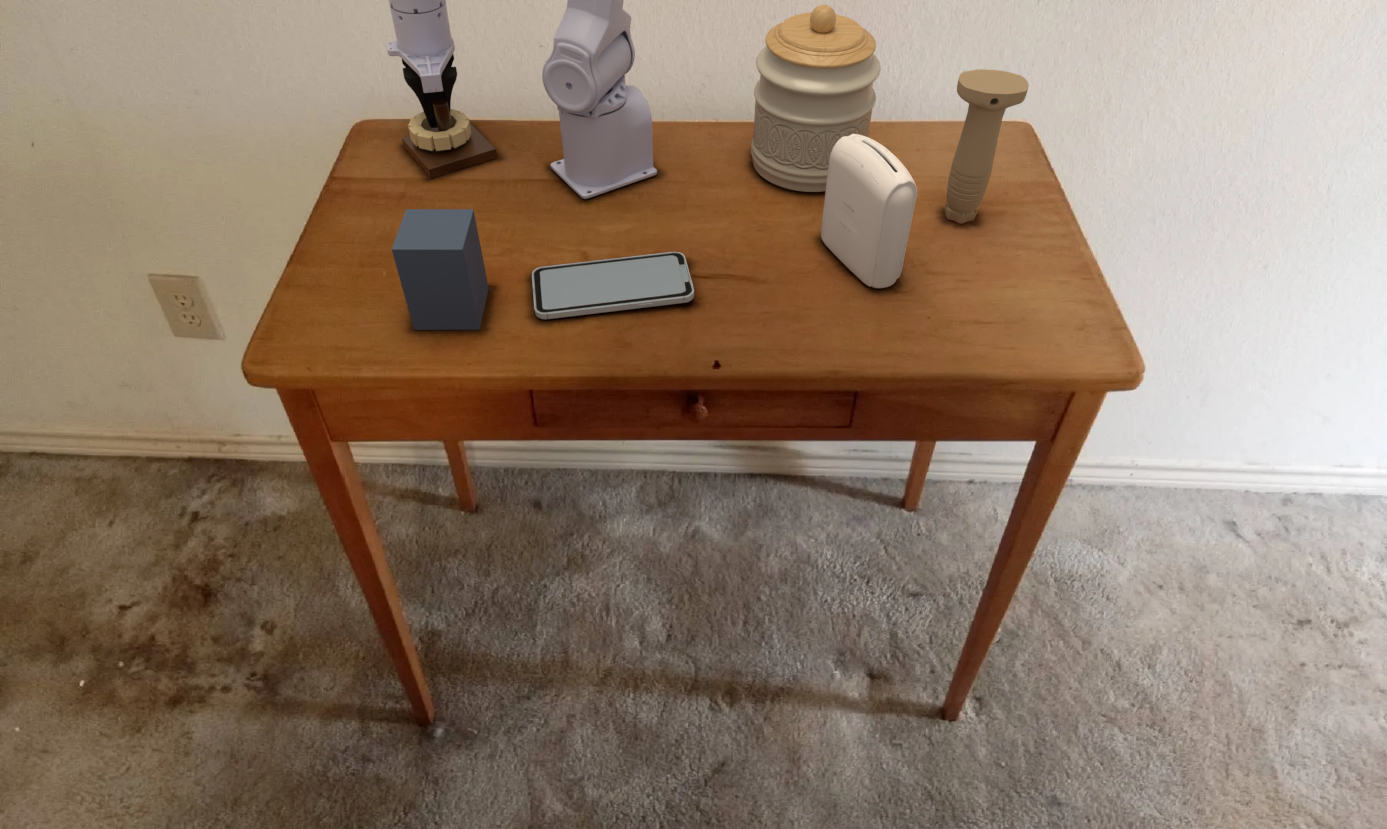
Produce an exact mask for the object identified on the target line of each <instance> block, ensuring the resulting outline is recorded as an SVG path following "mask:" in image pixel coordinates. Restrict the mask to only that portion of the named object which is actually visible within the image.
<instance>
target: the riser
mask: <svg viewBox="0 0 1387 829" xmlns="http://www.w3.org/2000/svg"><path fill="white" fill-rule="evenodd" d="M391 252H392V256H393V259H394V263H395V267H396V270H397V274H398V278H399V281H400V285H401V288H402V292H403V295H404V299H405V303H406V307H407V310H408V313H409V317H410V320H411V324H412V328H413V330H414V331H479V330H481V326H482V322H483V317H484V313H485V307H486V304H487V299H488V295H489V290H490V287H489V283H488V277H487V272H486V271H487V270H486V267H485V262H484V257H483V256H484V255H483V252H482V246H481V240H480V236H479V231H478V225H477V220H476V216H475V210H474V209H473V208H438V209H437V208H406V209H405V211H404V214H403V216H402V219H401V222H400V225H399V228H398V230H397V233H396V235H395V239H394V241H393V244H392V246H391Z"/></svg>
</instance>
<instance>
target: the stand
mask: <svg viewBox="0 0 1387 829" xmlns="http://www.w3.org/2000/svg"><path fill="white" fill-rule="evenodd" d="M433 108H434V113H435V117H436V122H437V127H438V128H433V129H431V130H429V131H432V132H441V131H447V130H449V129H451V128H452V123H451V117H450V112H449V107H448V102H447V100H445V99H437V100H434V101H433ZM470 128H471V135H470V137H469V140H466V143H464V144H462V145H460V146H458V147H456V148H454V147H452V146H451V149H450V150H441V151H436V149H434V150H433V151H430V150H426V149H421V148H419V146H416V145H415V144H414V143H413V142H412V141H411V138H410V135H407V136H403V137H402V138H401V141H402V145H403V148H404V149H405V150H406V151H407V153H408V154H409V155H410V156H411V157H412V159H413V160H414V161H415V162H416V163H417V164H418V166H420V168H421V170H423V172H425V174H426V175H427V176H428V177H429V178H430V179H435V178H438V177H441V176H444V175H447V174H451V173H454V172H458V171H460V170H464V169H467V168H469V167H474V166H476V165H480V164H483V163H486V162H489V161H492V160H495V159H497V158H498V156H497V149H496V148H495V147H494V146H493V144H491V142H490V141H488V139H486V137H485V136H484V135H483V134H482V133H481V132H480V131H479V130H478V129H477V128H476V127H475V126H474V125H473V124H472V123H471V122H470Z"/></svg>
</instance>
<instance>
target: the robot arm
mask: <svg viewBox="0 0 1387 829" xmlns="http://www.w3.org/2000/svg"><path fill="white" fill-rule="evenodd" d="M624 1H625V0H567V2H566V8H565V11H564V14H563V16H562V18H561V20H560V23H559V25H558V28H557V29H556V32H555V34H554V37H553V46H552V50H551V54H550V55H549V57H548V58H547V59H546V61H545V62H544V64H543V67H542V71H541V72H542V73H541V78H542V79H541V80H542V85H543V87H544V90H545V92H546V94H547V96H548V97H549V98H550V100H551V101H552V102H553V103H554V104H555V106H557V107H556V108H557V111H558V117H559V126H560V136H561V137H560V138H561V146H562V156H563V158H562V159H559V160H555V161H553V162H551V163H550V164H549V166H550V169H551V170H552V171H553V172H554V173H555V174H556V175H557V176H559V178H561V180H562V181H563V182H564V183H566V184H567V185H568V186H569V188H571V189H572V190H573V191H574V192H575V193H576V194H577V195H578V196H579V197H580V198H581V199H583V200H588V199H590V198H594V197H596V196H599V195H602V194H605V193H608V192H610V191H613V190H616V189H619V188H623V187H625V186H628V185H630V184H634V183H637V182H639V181H642V180H645V179H649V178H652V177H654V176H656V175H657V174H658V170H657V168H655V167H654V142H653V141H654V136H653V118H652V112H651V108H650V104H649V103H648V100H647V98H646V96H645V95H644V93H643V92H642V90H641V89H640V88H639V87H638V86H637V85H633V84H627V85H626V74H628V73H629V72H630V70H632V67H633V65H634V64H635V60H636V59H635V58H636V50H635V45H634V42H633V39H632V34H631V24H632V15H630V13H628V11H626V10H625V9H624V8H623V7H624ZM388 4H389V8H390V13H391V19H392V24H393V28H394V29H393V30H394V34H395V38H396V41H389V42H387V43H386V50H387V55H388V56H389V57H399V58H401V64H402V65H403V66H404V67H402V73H403V79H404V81H405V83H406V84H407V86H408V87H409V88H410V89H411V90H412V92H413V93H414V94H415V96H416V97H417V99H418V101H419V103H420V105H421V106H420V107H421V108H422V110H423V111H422V112H424V113H425V116H426V118H427V121H428V123H429V125H430V126H431V128H433V129H434V128H438V127H437V122H436V117H435V113H434V108H433V101H434V100H437V99H445V100H447V102H448V107H449V112H450V109H451V108H452V107H451V105H452V104H451V103H452V93H453V89H454V86H455V84H456V82H457V79H458V78H457V77H458V71H457V66H453V63H454V60H455V55H454V52H455V50H456V46H455V40H454V39H453V37H452V32H451V26H450V21H449V14H448V7H447V0H388Z"/></svg>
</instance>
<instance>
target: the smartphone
mask: <svg viewBox="0 0 1387 829" xmlns="http://www.w3.org/2000/svg"><path fill="white" fill-rule="evenodd" d="M531 282H532V283H531V284H532V295H533V309H534V314H535V316H536V317H537V318H538V319H540V320H553V319H559V318H568V317H569V318H570V317H576V316H577V317H578V316H584V315H585V316H586V315H594V314H601V313H609V312H619V311H627V310H636V309H642V308H643V309H644V308H653V307H661V306H670V305H676V304H686V303H689V302H691V301H693V299H694V298H695V289H694V284H693V280H692V277H691V274H690V270H689V266H688V262H687V258H686V255H685V254H684V253H682V252H679V251H668V252H660V253H659V252H658V253H651V254H650V253H649V254H642V255H633V256H632V255H631V256H624V257H616V258H608V259H607V258H606V259H599V260H590V261H581V262H580V261H579V262H572V263H563V264H554V265H544V266H539V267H536V268H535V269H533V270H532V272H531Z"/></svg>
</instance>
